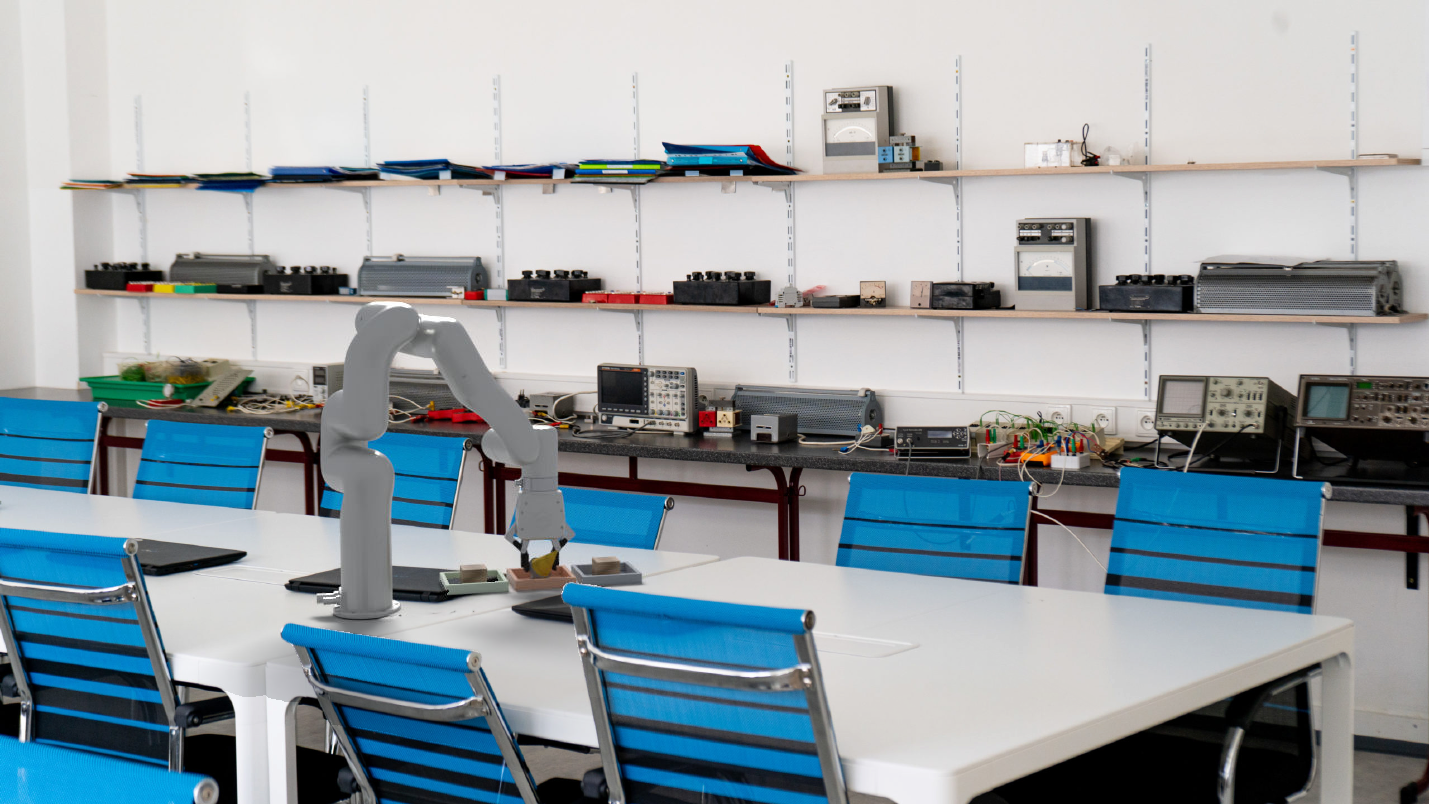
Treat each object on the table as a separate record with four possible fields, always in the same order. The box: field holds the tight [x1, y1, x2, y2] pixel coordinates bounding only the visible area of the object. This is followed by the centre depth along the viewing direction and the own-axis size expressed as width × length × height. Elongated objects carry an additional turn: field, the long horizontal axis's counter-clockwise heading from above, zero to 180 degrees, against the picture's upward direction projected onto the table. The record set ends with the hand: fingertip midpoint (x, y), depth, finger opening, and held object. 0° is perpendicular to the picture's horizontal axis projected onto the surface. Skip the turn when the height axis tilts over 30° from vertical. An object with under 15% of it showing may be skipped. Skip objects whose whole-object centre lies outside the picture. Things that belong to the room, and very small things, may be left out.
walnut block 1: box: [459, 563, 488, 584], centre depth 273 cm, size 5×5×4 cm
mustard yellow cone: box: [529, 550, 558, 579], centre depth 277 cm, size 5×5×10 cm
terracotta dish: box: [505, 564, 577, 592], centre depth 278 cm, size 13×13×2 cm
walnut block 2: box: [591, 556, 621, 576], centre depth 282 cm, size 5×5×4 cm
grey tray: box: [570, 561, 643, 586], centre depth 282 cm, size 13×13×2 cm
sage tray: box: [439, 568, 510, 596], centre depth 273 cm, size 13×13×2 cm
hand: (539, 569), depth 277 cm, fingers closed on mustard yellow cone, 5 cm apart
